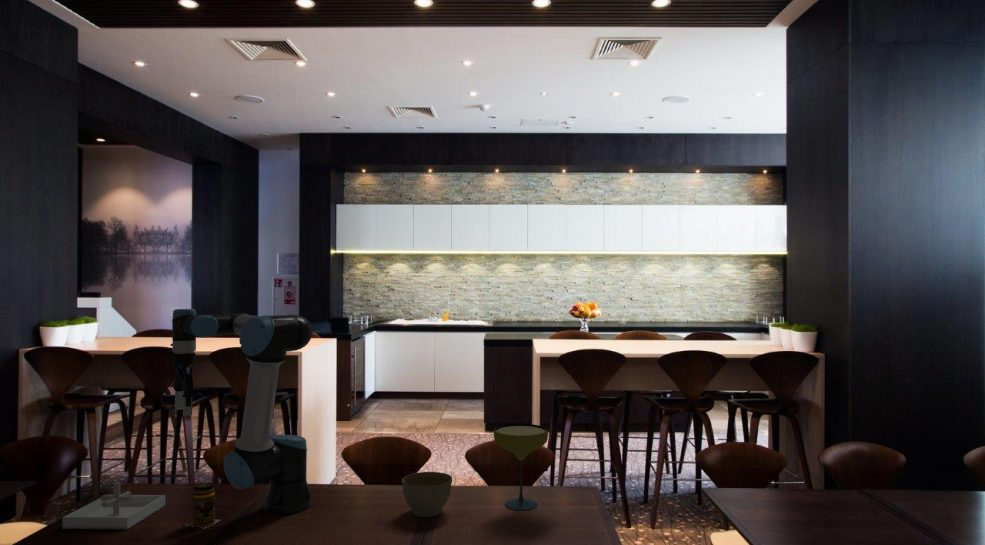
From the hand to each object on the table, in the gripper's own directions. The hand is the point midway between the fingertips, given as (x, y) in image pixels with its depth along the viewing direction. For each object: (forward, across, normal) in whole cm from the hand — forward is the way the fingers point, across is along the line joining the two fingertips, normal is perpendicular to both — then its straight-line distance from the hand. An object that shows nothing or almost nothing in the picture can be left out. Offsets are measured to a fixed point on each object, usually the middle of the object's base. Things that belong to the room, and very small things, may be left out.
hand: (183, 412), depth 214 cm
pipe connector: (+28, +10, -21) cm, 37 cm away
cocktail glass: (+29, +83, +86) cm, 123 cm away
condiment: (+29, +33, -1) cm, 44 cm away
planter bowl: (+29, +69, +58) cm, 95 cm away
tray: (+29, +10, -21) cm, 37 cm away
